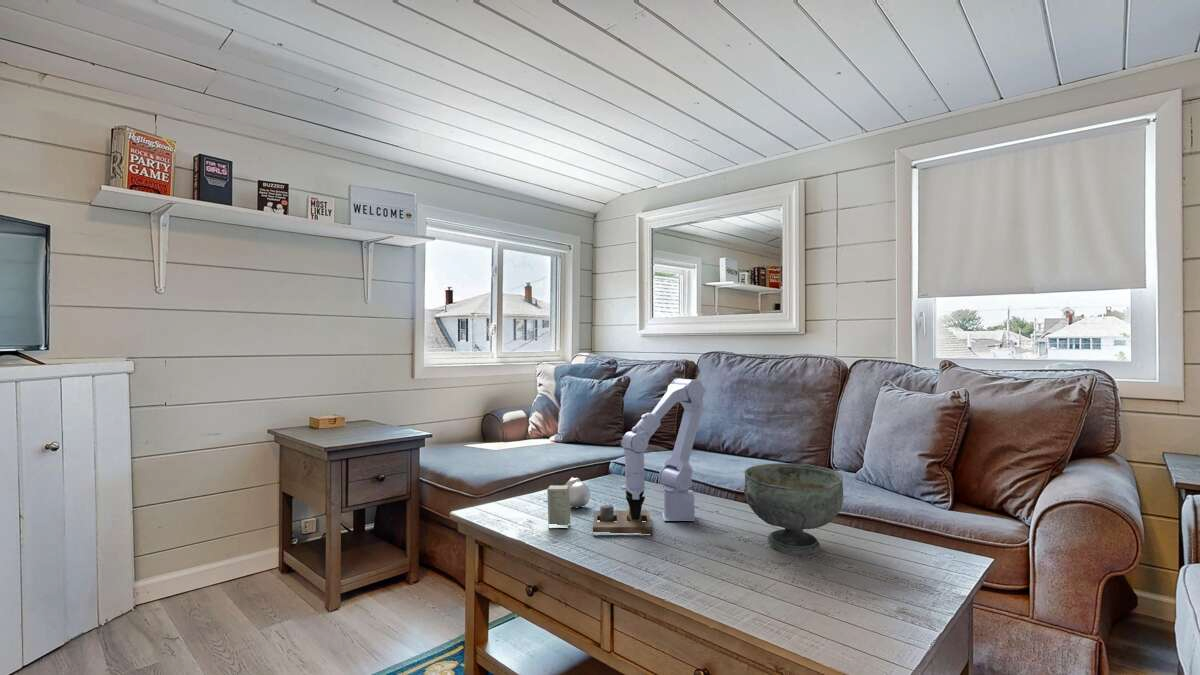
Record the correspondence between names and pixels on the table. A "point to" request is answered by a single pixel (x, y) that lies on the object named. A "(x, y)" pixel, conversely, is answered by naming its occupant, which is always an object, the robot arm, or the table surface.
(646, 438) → the robot arm
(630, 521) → the birch peg
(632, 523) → the pocket board
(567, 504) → the skincare box
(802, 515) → the decorative bowl
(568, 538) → the table surface
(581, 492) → the ghost figurine
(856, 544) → the table surface
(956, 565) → the table surface
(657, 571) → the table surface
